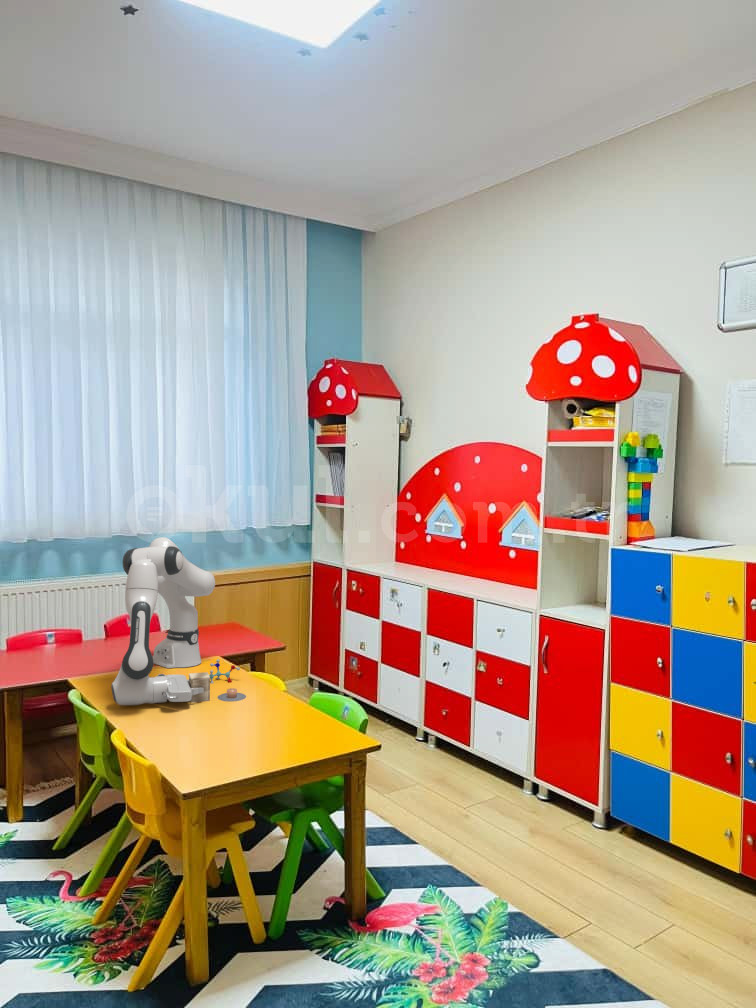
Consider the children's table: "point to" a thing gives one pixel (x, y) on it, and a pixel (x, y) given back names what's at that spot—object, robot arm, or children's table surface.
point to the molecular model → (220, 672)
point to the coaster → (224, 698)
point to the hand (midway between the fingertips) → (201, 686)
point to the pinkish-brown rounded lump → (231, 693)
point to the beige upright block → (200, 681)
